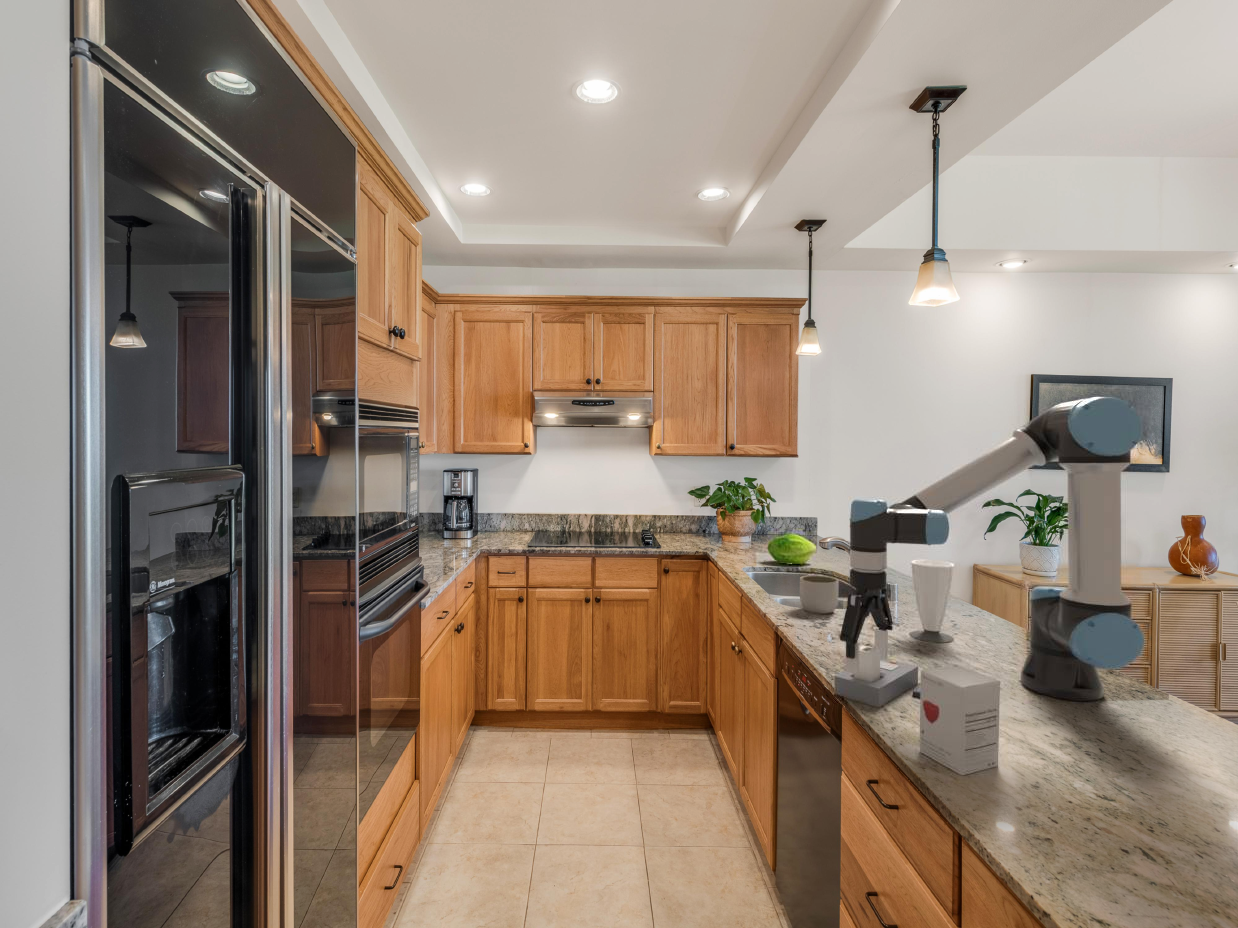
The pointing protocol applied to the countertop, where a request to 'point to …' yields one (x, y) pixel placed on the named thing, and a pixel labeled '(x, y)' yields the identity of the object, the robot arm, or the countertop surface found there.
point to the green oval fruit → (791, 549)
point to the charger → (869, 664)
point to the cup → (932, 597)
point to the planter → (819, 593)
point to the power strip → (878, 683)
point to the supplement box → (959, 718)
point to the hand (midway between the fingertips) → (867, 665)
